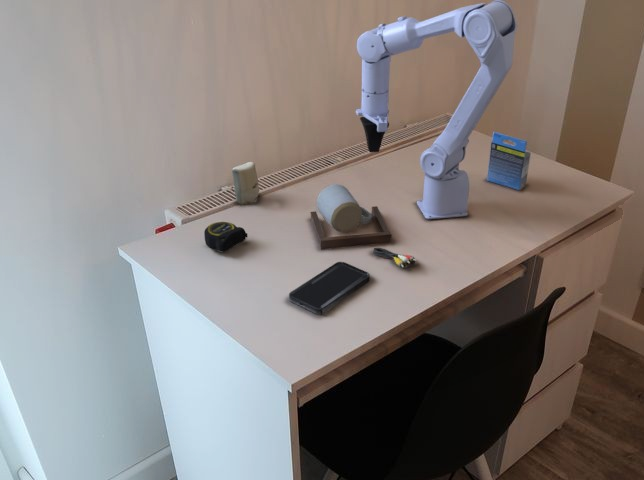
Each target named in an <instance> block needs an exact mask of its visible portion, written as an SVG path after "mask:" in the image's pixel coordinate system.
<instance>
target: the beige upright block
mask: <svg viewBox="0 0 644 480" xmlns="http://www.w3.org/2000/svg"><path fill="white" fill-rule="evenodd" d="M231 173H232V179H233V186H234V193H235V199H236V203H237V204H239V205H243V206H244V205H247V204H250V205H251V204H254V203H256V202H257V201H258V199H259V194H260V186H259V177H258V173H257V169H256V163H255V162H254V161H248V162H245V163H243V164H239V165H237V166H235V167H232V169H231Z"/></svg>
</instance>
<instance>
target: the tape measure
mask: <svg viewBox="0 0 644 480" xmlns="http://www.w3.org/2000/svg"><path fill="white" fill-rule="evenodd" d="M203 232H204V233H203V234H204V242H205V244H206V245H205V246H207V248H209V249H211V250H212V251H213V250H214V251H218V252H221V253H225V252H228V251H229V250H230V249H232V248H234V247H235V246H237V245H239V244H241V243H243V242H244V241H245V240H246V239H247V238H248V233H247V232H246V230H245V229H244V228H243V227H241V226H236V224H235V223H232V222H228V221H218V222H213V223H211V224H209V225H208V226H207V227H206V228H205V229H204V231H203Z"/></svg>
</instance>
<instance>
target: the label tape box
mask: <svg viewBox="0 0 644 480" xmlns="http://www.w3.org/2000/svg"><path fill="white" fill-rule="evenodd" d="M505 141H506V142H505ZM508 141H510V143H507V142H508ZM511 143H513V144H511ZM527 144H528V140H524V139H521V138H517V137H514V136H510V135H507V134H505V133H501V132H497V131H495V130H493V133H492V139H491V142H490V149H489V150H490V151H489V158H488V159H489V160H488V166H487V167H488V168H487V175H486V181H487V182H490V183H494V184H496V185H500V186H504V187H507V188H510V189H513V190H517V191H521V190H522V189H524V187H525V186H526V185H527V181H528V175H529V174H528V173H529V169H530V168H529V167H530V160H531V153H532V152H530V151H527V150H526V149H527Z"/></svg>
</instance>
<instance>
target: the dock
mask: <svg viewBox="0 0 644 480" xmlns="http://www.w3.org/2000/svg"><path fill="white" fill-rule="evenodd" d="M309 213H310V222H311V225H312V227H313V230H314V231H313V232H314V234H315V236H316V239H317V240H316V241H317V242H318V245H319V247H320V250H330V249H341V248H351V247H361V246H362V247H363V246H372V245H381V244H391V243H392V233H391V231H390V229H389V227H388V225H387V223H386V221H385V219H384V217H383V215H382V213H381V211H380V209H379V207H378V206H377V205H375V206H371V216H372V219H373V220H374V223H375V225H376V227H377V228H378V231H379V232H367V233H359V234H348V235H347V234H346V235H337V236H327V237H326V235H325V232H324V229H323V227H322V224H321V221H320V218H319V216H318V213H317V211H315V210H314V211H310V212H309Z"/></svg>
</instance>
